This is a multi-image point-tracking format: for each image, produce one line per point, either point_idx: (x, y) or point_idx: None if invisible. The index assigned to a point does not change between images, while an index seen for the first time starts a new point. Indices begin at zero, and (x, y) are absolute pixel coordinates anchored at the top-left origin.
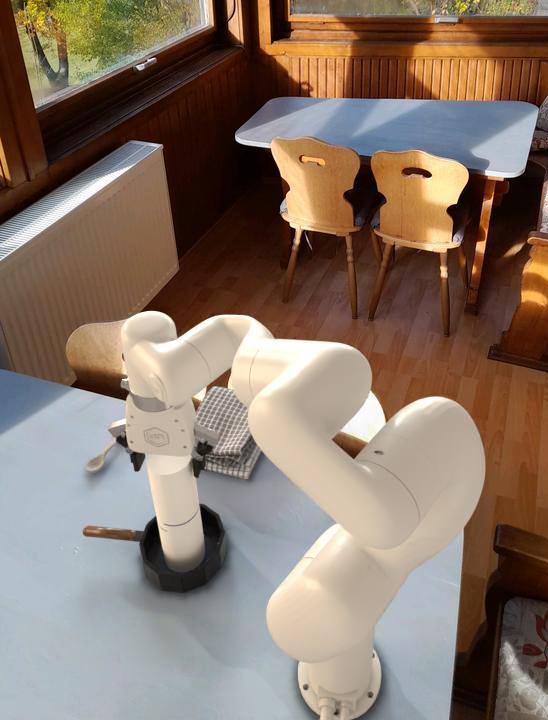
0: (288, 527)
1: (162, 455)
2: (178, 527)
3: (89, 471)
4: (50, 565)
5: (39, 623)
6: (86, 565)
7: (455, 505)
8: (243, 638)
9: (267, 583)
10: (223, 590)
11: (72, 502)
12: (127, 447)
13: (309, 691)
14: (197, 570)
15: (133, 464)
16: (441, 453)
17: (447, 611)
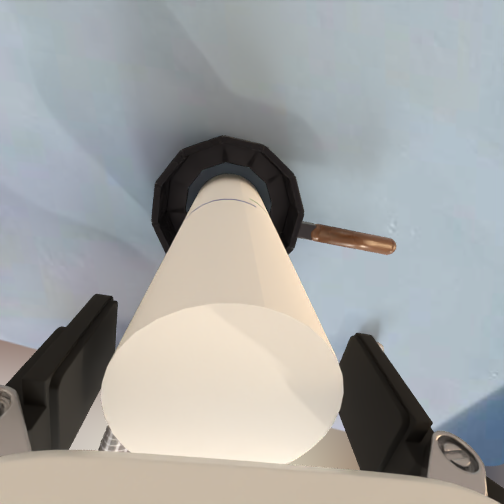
0: (61, 238)
1: (260, 409)
2: (220, 197)
3: (379, 344)
4: (428, 205)
5: (446, 107)
6: (378, 200)
7: None
8: (105, 29)
9: (79, 137)
10: (156, 132)
11: (398, 300)
12: (486, 488)
13: None
14: (192, 146)
15: (392, 365)
16: None
17: None
